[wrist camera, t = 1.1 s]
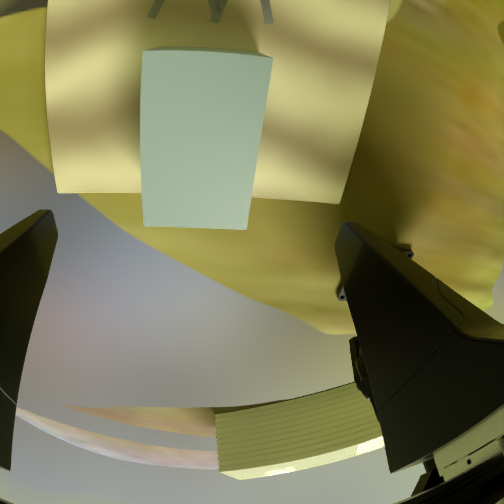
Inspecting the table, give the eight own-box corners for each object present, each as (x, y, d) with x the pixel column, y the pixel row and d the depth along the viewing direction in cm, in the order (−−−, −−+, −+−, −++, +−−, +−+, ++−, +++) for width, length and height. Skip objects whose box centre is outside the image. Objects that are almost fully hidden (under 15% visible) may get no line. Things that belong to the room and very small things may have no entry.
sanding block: (239, 189, 20) (246, 229, 17) (155, 186, 20) (143, 226, 16) (259, 52, 15) (273, 58, 11) (159, 46, 14) (142, 50, 10)
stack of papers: (233, 430, 55) (239, 479, 46) (214, 413, 48) (219, 472, 40) (393, 388, 52) (410, 436, 44) (401, 364, 45) (423, 420, 37)
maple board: (332, 193, 23) (339, 204, 22) (65, 183, 20) (57, 193, 19) (390, -76, 10) (401, -80, 8) (80, -103, 6) (72, -109, 5)
